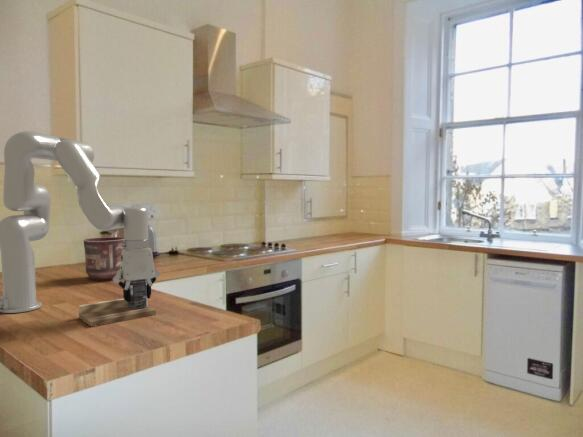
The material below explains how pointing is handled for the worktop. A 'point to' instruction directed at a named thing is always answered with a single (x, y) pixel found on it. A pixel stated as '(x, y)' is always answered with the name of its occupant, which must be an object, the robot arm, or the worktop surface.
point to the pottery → (103, 257)
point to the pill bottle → (138, 294)
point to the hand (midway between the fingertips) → (137, 298)
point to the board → (111, 312)
